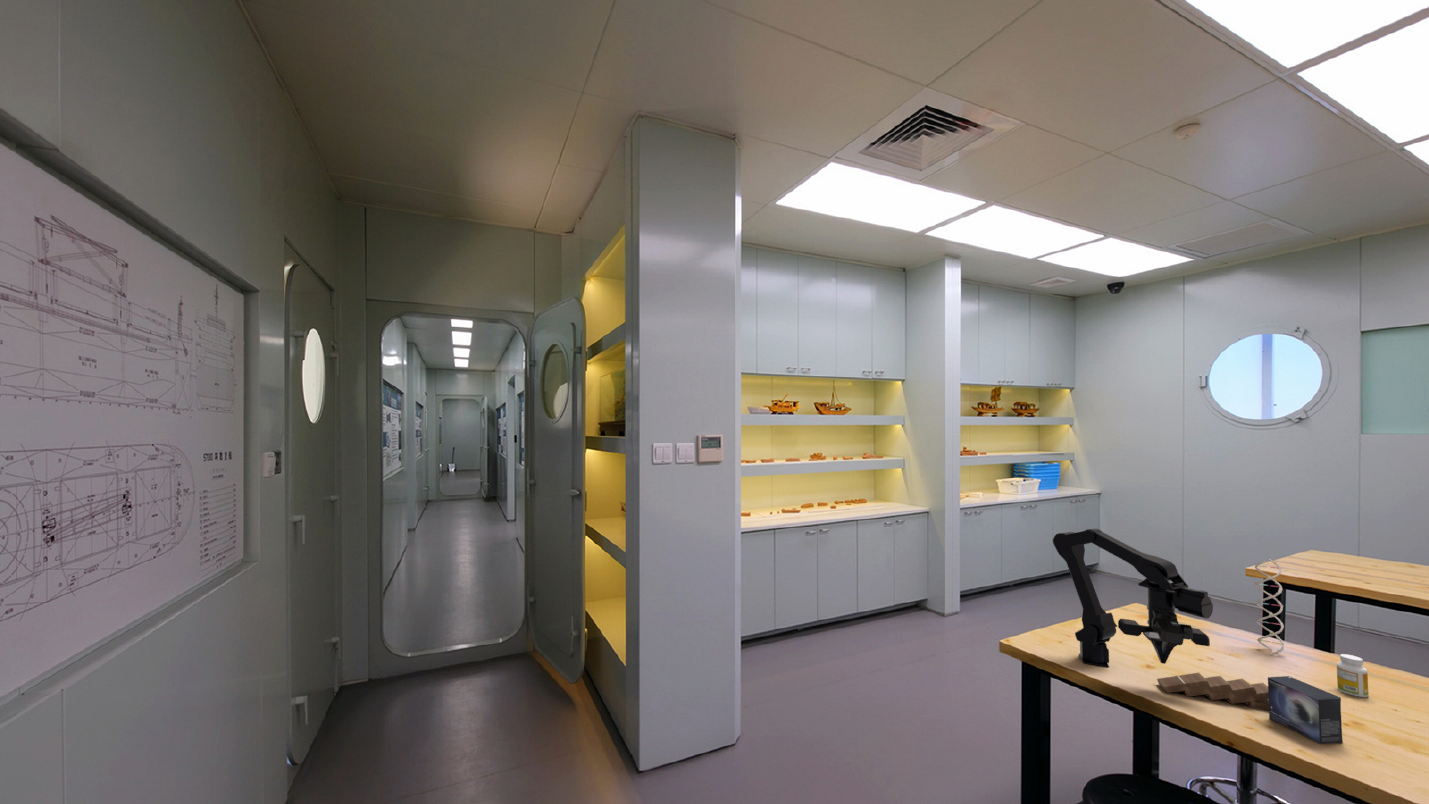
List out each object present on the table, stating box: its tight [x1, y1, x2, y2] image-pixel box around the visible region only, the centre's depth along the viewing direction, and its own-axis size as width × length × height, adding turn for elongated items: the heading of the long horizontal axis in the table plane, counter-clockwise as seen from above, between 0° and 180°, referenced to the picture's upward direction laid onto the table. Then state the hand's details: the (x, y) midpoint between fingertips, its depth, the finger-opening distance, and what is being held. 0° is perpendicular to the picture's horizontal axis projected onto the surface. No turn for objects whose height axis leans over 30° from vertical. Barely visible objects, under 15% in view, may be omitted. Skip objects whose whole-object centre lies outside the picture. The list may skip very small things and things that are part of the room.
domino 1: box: [1156, 672, 1210, 694], centre depth 142 cm, size 2×5×10 cm
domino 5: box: [1244, 699, 1269, 712], centre depth 135 cm, size 2×5×10 cm
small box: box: [1267, 675, 1343, 745], centre depth 125 cm, size 11×6×10 cm, turn 5°
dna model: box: [1254, 557, 1285, 656], centre depth 169 cm, size 7×6×30 cm
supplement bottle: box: [1336, 653, 1369, 698], centre depth 143 cm, size 5×5×10 cm
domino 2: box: [1182, 675, 1232, 697], centre depth 140 cm, size 2×5×10 cm
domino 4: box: [1224, 682, 1269, 705], centre depth 137 cm, size 2×5×10 cm
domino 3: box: [1204, 678, 1257, 701], centre depth 138 cm, size 2×5×10 cm
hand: (1162, 663), depth 144 cm, fingers closed
